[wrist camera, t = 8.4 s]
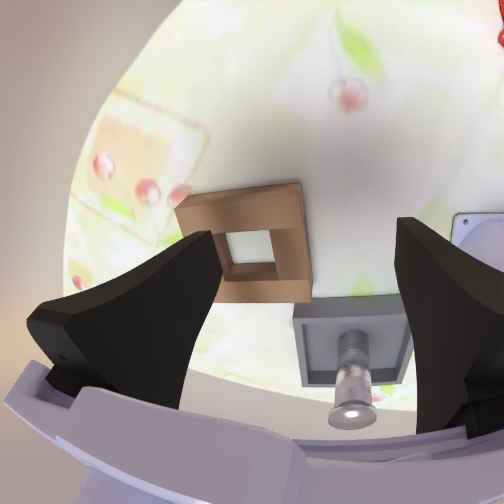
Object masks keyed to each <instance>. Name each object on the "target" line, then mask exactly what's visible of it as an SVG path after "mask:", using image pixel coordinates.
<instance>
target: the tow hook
mask: <svg viewBox="0 0 504 504" xmlns="http://www.w3.org/2000/svg"><path fill="white" fill-rule="evenodd" d="M500 5H501V11H502V15H503V18H504V0H500ZM499 41H500V42H501V43H502V44H503V45H504V31H502V32H501V33H500V35H499Z"/></svg>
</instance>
